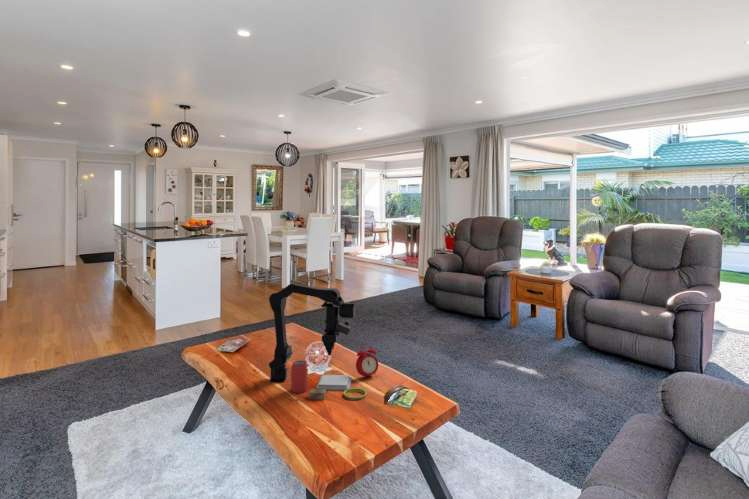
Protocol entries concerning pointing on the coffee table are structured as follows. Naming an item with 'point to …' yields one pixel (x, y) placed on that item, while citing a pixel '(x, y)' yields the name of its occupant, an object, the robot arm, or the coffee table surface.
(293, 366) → the beer can
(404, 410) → the coffee table surface
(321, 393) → the metal block
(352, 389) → the olive green ring
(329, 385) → the stand
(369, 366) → the alarm clock
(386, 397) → the wallet with cash
